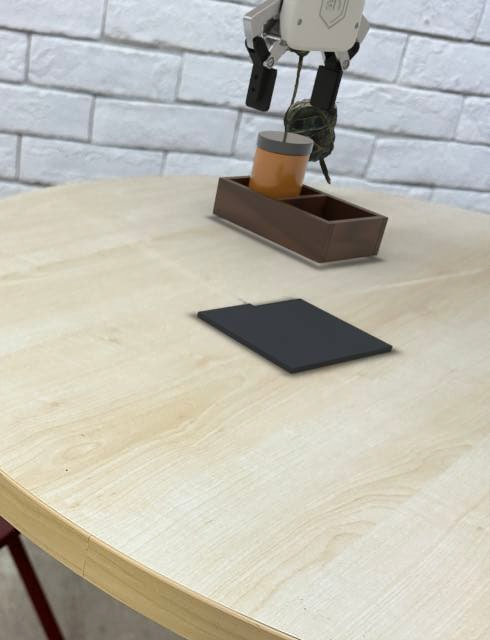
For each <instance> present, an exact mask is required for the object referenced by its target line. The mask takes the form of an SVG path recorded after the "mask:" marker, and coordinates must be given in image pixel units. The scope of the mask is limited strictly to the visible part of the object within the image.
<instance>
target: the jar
mask: <svg viewBox="0 0 490 640" xmlns="http://www.w3.org/2000/svg"><path fill="white" fill-rule="evenodd" d="M313 144H314V141H313V140H312V139H310V138H308V137H306V136H302V135H299V134H294V133H289V132H285V131H282V130H281V131H280V130H262V131H259V132H258V133H257V137H256V142H255V145H256V146H255V152H254V156H253V161H252V166H251V169H250V170H251V171H250V174H249V175H250V180H249V185H248V187H249V188H251V189H253V190H256V191H258V192H261V193H263V194H265V195H268V196H270V197H272V198H279V197H290V196H300V194H301V190H302V186H303V184H304V182H305V181H304V180H305V178H306V177H305V176H306V174H307V173H306V172H307V170H308V169H307V168H308V165H309V162H308V161H309V156H310V154H311V152H312V148H313Z"/></svg>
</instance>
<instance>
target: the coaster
mask: <svg viewBox="0 0 490 640" xmlns="http://www.w3.org/2000/svg"><path fill="white" fill-rule="evenodd" d="M196 317H197V318H198V319H200V320H202V321H203V322H205V323H207V324H208V325H210V326H211V327H213V328H215V330H218V331H220V332H222V333H223V334H224V335H227V336H228V337H230V338H231V339H233V340H235V341H236V342H238V343H240V344H241V345H243V346H244V347H246V348H248V349H249V350H251V351H253V352H254V353H256V354H258V355H259V356H261V357H263V358H265V359H266V360H268V361H269V362H271V363H272V364H274V365H276V366H278V367H279V368H281V369H282V370H284V371H286V372H288V373H289V374H294V373H295V374H296V373H299V372H300V373H301V372H304V371H309V370H313V369H314V370H315V369H319V368H323V367H326V366H327V367H328V366H331V365H335V364H336V365H337V364H340V363H344V362H345V363H346V362H349V361H353V360H357V359H358V360H359V359H362V358H368V357H371V356H375V355H381V354H384V353H390V352H392V350H393V345H391V344H390V343H388V342H386V341H384V340H382V339H380V338H378V337H376V336H375V335H372V334H371V333H368V332H366V331H364V330H362V329H361V328H358V327H357V326H355V325H353V324H351V323H349V322H347V321H345V320H343V319H341V318H339V317H337V316H335V315H334V314H332V313H329V312H328V311H326V310H323V309H321V308H320V307H318V306H316V305H314V304H312V303H310V302H308V301H307V300H304V299H302V298H301V297H300V298H294V299H287V300H282V301H275V302H270V303H269V302H268V303H263V304H258V305H254V304H251V303H250V302H248V303H244V304H236V305H230V306H225V307H218V308H212V309H207V310H206V309H205V310H200V311H197V315H196Z"/></svg>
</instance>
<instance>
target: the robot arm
mask: <svg viewBox="0 0 490 640" xmlns="http://www.w3.org/2000/svg"><path fill="white" fill-rule="evenodd" d="M365 4H366V0H265V1H263V2H262V3H260V4H258V5H257V6H256V7H254V8H252V9H251V10H250V11H248V12H246V13H245V14H244V15H243V18H242V23H243V25H242V26H243V31H244V37H245V39H244V46H245V48H246V50H247V53H248V62H249V64H250V65H251V64H252V66H251V67H252V68H251V72H250V77H249V81H248V86H247V91H246V96H245V102H244V103H245V106H246V107H248V108H251V109H253V110H256V111H260V112H262V113H263V112H265V113H266V112H268V111H269V110H270V108H271V105H272V104H271V103H272V99H273V95H274V90H275V86H276V81H277V76H278V69H276V68H274V66H275V65H276V64H277V62H278V61H279V60H280V59H281V57H282V56H284V54H285V53H286V52H287V51H286V50H287V48H288V47H290V48H292V49H295V50H303V51H310V52H320V54H321V57H322V61H323V64H324V65H323V64H319V65H318V68H317V70H316V74H315V77H314V82H313V86H312V91H311V95H310V98H309V99H310V105H311V106H314V107H317V108H320V109H323V110H326V111H332V110H333V109H334V105H335V104H336V101H337V98H338V93H339V89H340V85H341V82H342V79H343V74H344V72H345V71H347V70H348V69H349V67H350V65H351V60H352V59H354V57H355V56H356V55H357V54H358V53H359V51H360V48H361V44H362V43H363V41H364V39H365V38H366V36H367V34H368V33H369V31H370V29H371V23H370V22H369V20H368V19H367V18H366V17H365V16H364V14H363V12H364V8H365ZM285 51H286V52H285ZM284 52H285V53H284ZM283 53H284V54H283Z"/></svg>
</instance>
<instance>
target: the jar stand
mask: <svg viewBox="0 0 490 640" xmlns="http://www.w3.org/2000/svg"><path fill="white" fill-rule="evenodd" d="M250 175H251V174H249V175H237V176H236V175H234V176H222V177H221V176H219V177H218V181H217V186H216V192H215V199H214V203H213V209H212V214H213V215H214V216H217V217H219V218H221V219H223V220H225V221H227V222H230V223H232V224H234V225H236V226H238V227H240V228H242V229H244V230H247V231H249V232H251V233H253V234H255V235H257V236H259V237H262V238H263V239H266V240H267V241H270V242H272V243H274V244H277V245H278V246H281V247H283V248H285V249H287V250H289V251H291V252H294V253H296V254H297V255H300V256H302V257H304V258H306V259H309V260H310V261H313V262H315V263H317V264H324V263H331V262H332V263H333V262H340V261H347V260H352V259H353V260H354V259H359V258H367V257H375V256H378V253H379V251H380V247H381V244H382V240H383V238H384V235H385V231H386V228H387V224H388V221H389V217H388V216H386V215H383V214H381V213H378V212H375V211H373V210H371V209H368V208H366V207H363V206H360V205H358V204H355V203H353V202H350V201H348V200H345V199H343V198H340V197H337V196H334V195H332V194H329V193H327V192H324V191H322V190H320V189H317V188H314V187H311V186H309V185H307V184H304V183H303V186H302V190H301V194H300V196H290V197H279V198H272V197H270V196H268V195H265V194H263V193H261V192H258V191H256V190H253V189H251V188H249V187H248V185H249V180H250Z"/></svg>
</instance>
